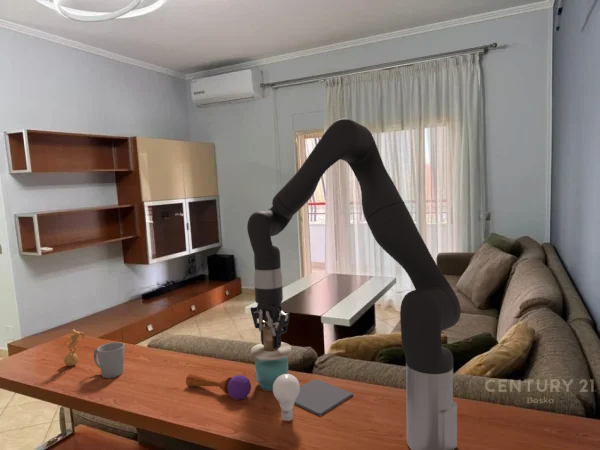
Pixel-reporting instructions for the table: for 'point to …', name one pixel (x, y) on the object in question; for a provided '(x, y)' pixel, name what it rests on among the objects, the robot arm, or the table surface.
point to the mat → (320, 396)
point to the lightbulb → (286, 394)
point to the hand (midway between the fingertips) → (271, 345)
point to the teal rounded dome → (270, 371)
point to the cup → (110, 359)
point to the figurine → (71, 357)
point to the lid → (270, 347)
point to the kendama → (224, 385)
